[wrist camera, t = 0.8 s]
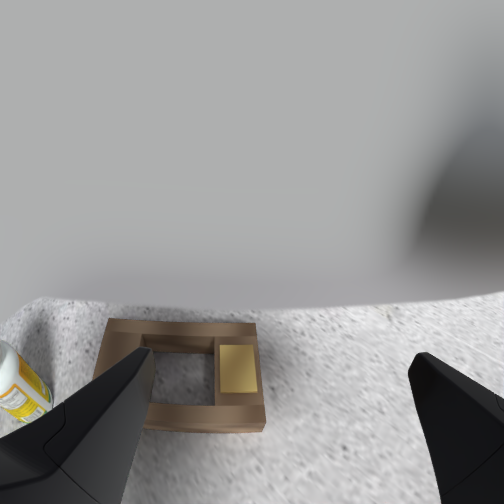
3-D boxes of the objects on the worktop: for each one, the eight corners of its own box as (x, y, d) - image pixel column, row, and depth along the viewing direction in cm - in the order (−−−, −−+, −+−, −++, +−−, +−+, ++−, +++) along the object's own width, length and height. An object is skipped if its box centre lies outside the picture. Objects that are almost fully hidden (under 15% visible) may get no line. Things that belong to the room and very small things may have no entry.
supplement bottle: (46, 434, 15) (-19, 387, 10) (9, 415, 15) (-52, 363, 9) (60, 388, 20) (9, 327, 14) (24, 373, 20) (-26, 313, 14)
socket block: (252, 340, 27) (255, 320, 25) (261, 431, 20) (266, 421, 18) (117, 336, 26) (107, 316, 24) (99, 421, 18) (84, 407, 16)
